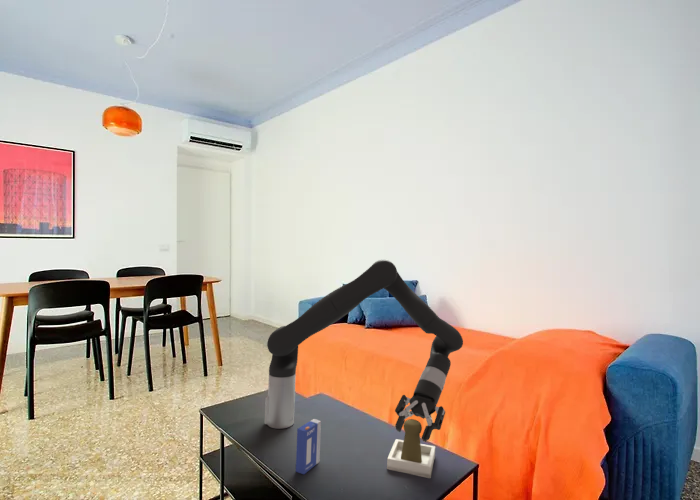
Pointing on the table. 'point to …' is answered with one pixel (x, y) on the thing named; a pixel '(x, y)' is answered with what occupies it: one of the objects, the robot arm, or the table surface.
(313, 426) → the walkman
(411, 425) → the olive pepper mill
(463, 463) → the table surface
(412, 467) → the tray
